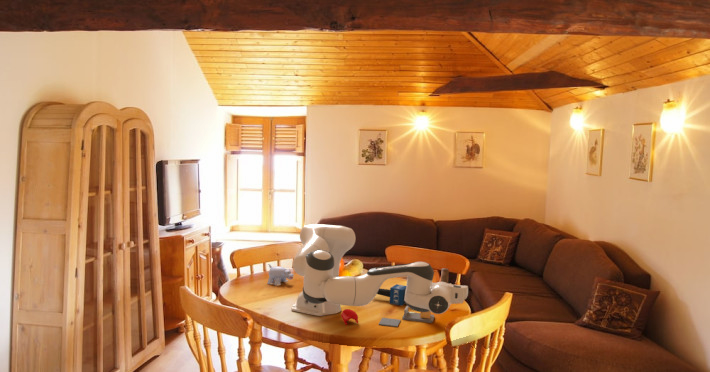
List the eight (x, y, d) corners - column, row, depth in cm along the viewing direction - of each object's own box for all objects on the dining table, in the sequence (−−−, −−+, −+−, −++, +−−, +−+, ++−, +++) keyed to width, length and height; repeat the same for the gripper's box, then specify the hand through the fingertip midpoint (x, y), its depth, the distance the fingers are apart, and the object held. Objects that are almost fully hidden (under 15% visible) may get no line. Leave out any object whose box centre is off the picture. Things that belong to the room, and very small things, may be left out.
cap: (339, 318, 208) (352, 312, 207) (338, 309, 214) (351, 303, 213) (349, 331, 211) (361, 325, 210) (348, 322, 217) (360, 315, 216)
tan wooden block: (420, 317, 219) (421, 292, 218) (421, 314, 223) (422, 290, 222) (429, 318, 218) (430, 293, 217) (430, 315, 222) (431, 291, 221)
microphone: (374, 280, 252) (421, 288, 241) (373, 295, 253) (420, 304, 242) (367, 284, 245) (415, 292, 234) (367, 299, 246) (415, 308, 235)
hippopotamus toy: (287, 287, 263) (287, 269, 262) (262, 283, 268) (263, 266, 268) (297, 282, 273) (297, 265, 272) (273, 278, 278) (273, 262, 278)
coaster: (378, 324, 211) (378, 323, 211) (382, 318, 219) (382, 317, 219) (397, 327, 209) (397, 325, 209) (400, 320, 217) (400, 319, 217)
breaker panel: (402, 319, 219) (402, 310, 218) (405, 313, 226) (405, 305, 226) (432, 323, 216) (432, 313, 215) (434, 317, 223) (434, 308, 223)
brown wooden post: (439, 301, 214) (441, 269, 213) (440, 299, 217) (441, 268, 216) (446, 302, 213) (448, 270, 212) (447, 300, 216) (449, 268, 215)
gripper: (415, 298, 205) (420, 289, 218) (466, 303, 199) (468, 294, 213) (416, 283, 204) (420, 275, 217) (467, 288, 199) (469, 279, 212)
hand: (444, 284), depth 215 cm, fingers closed on brown wooden post, 3 cm apart
